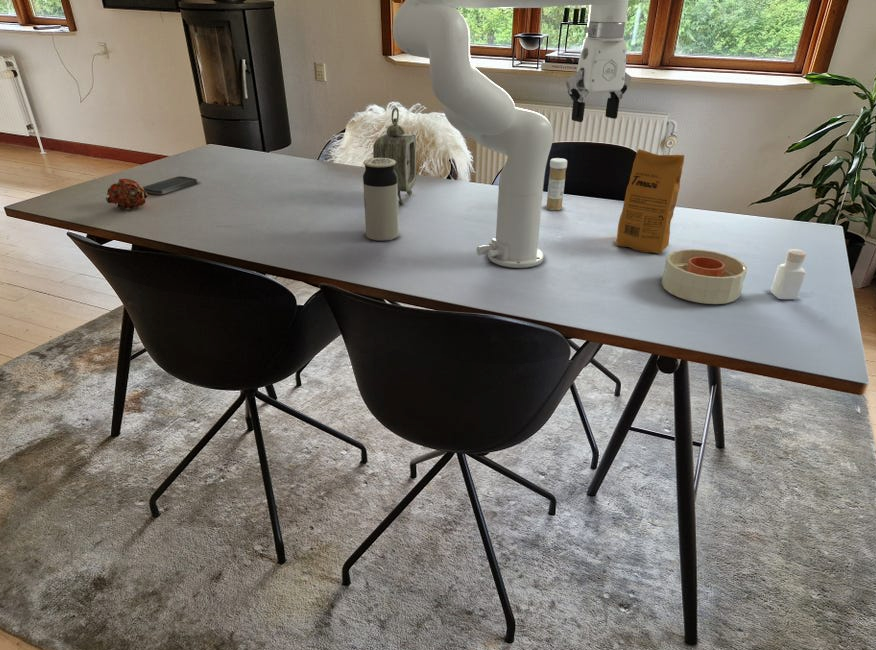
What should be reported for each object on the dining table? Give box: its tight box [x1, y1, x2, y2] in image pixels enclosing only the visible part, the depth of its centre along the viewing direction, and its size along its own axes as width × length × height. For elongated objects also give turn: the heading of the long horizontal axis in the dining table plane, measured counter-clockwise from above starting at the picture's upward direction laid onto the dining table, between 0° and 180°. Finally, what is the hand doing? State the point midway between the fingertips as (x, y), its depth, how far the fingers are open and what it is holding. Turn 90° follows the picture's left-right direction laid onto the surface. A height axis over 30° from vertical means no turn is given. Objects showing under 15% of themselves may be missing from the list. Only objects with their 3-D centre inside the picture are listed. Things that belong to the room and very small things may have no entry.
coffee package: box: [615, 148, 685, 254], centre depth 146 cm, size 10×12×22 cm
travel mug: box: [362, 157, 400, 242], centre depth 149 cm, size 8×8×18 cm
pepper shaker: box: [770, 248, 807, 300], centre depth 125 cm, size 4×4×10 cm
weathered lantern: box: [372, 106, 417, 207], centre depth 174 cm, size 14×9×25 cm, turn 171°
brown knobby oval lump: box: [105, 178, 149, 211], centre depth 168 cm, size 8×8×12 cm
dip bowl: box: [686, 257, 725, 277], centre depth 127 cm, size 7×7×6 cm
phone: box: [141, 175, 198, 196], centre depth 187 cm, size 8×1×15 cm
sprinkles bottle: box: [545, 157, 568, 211], centre depth 172 cm, size 5×5×14 cm
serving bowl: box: [661, 248, 748, 305], centre depth 128 cm, size 15×15×6 cm
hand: (594, 119), depth 138 cm, fingers open, 9 cm apart
